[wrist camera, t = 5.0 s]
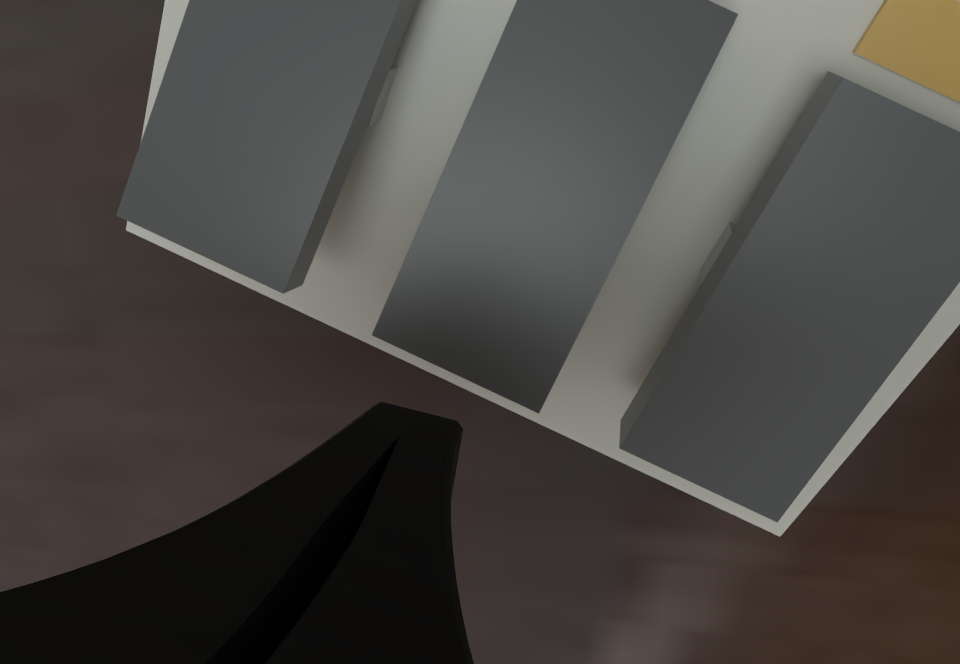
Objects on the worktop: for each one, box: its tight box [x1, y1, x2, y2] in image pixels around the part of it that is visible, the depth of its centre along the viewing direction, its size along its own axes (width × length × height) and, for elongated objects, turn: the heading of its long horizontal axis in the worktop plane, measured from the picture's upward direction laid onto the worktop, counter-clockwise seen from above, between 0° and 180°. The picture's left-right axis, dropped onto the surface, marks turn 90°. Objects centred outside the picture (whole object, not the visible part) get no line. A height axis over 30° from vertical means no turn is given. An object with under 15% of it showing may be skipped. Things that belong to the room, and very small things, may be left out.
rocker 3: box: [619, 71, 960, 522], centre depth 15 cm, size 4×8×1 cm, turn 158°
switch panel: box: [126, 0, 960, 537], centre depth 18 cm, size 18×12×3 cm, turn 68°
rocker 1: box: [116, 0, 418, 294], centre depth 15 cm, size 4×8×1 cm, turn 158°
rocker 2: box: [372, 0, 738, 414], centre depth 15 cm, size 4×8×1 cm, turn 158°
